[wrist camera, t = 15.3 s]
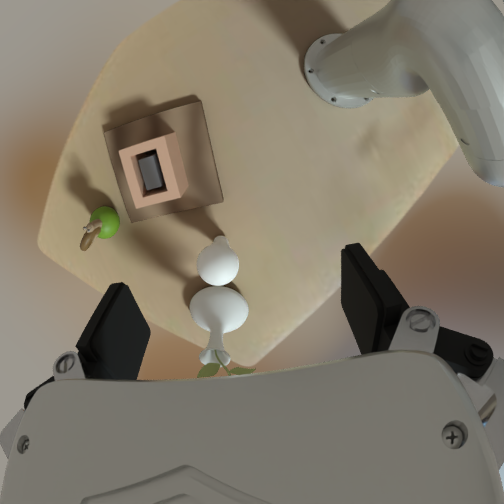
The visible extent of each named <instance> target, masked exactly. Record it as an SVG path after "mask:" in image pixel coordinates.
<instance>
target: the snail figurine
mask: <svg viewBox="0 0 504 504" xmlns="http://www.w3.org/2000/svg"><path fill="white" fill-rule="evenodd" d="M119 225H120V220H119V216H118V214H117V212H116V211H115V210H114V209H112V208H111V207H107V206H103V207H100V208H98V209H96V210H95V211H94V212H93V213H92V215H91V217H90V223H89V224H88V225H87V226H86V227H83V230H84V231H85V230H86V229H87V231H86V233H85V234H84V236H83V238H82V240H81V243H80V248H81V250H82V251H86V250H87V249H88V248H89V247H90V245H91V243H93V242H94V241H95V239H96V238H97V237H99V238H102V239H106V238H110V237H112V236H113V235H114V234H115V233H116V232H117V230H118V228H119Z"/></svg>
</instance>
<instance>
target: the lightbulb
mask: <svg viewBox="0 0 504 504" xmlns="http://www.w3.org/2000/svg"><path fill="white" fill-rule="evenodd" d="M238 269H239V261H238V257H237V255H236V253H235V252H234V251H233V250H232V249H231V248H230V246H229V243H228V239H227V238H226V237H225V236H217V237H216V238H215V239H214V241H213V243H212V244H211V245H209V246H207V247H206V248H204V249H203V250H202V251H201V253H200V254H199V256H198V259H197V270H198V273H199V275H200V277H201V278H202V279H203V280H204V281H205V282H207V283H209V284H211V285H215V286H221V285H225V284H227V283H229V282H231V281H232V280H233V279H234V277H235V276H236V274H237V272H238Z"/></svg>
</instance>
